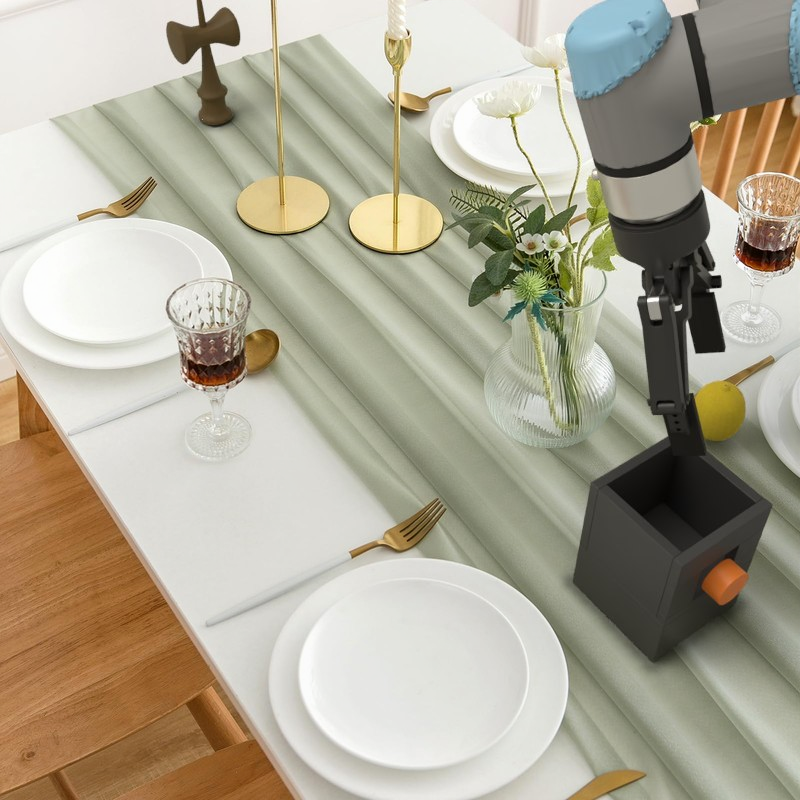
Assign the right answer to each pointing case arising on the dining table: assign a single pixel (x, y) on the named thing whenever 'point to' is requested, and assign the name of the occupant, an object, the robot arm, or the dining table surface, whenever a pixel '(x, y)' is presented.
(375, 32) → the dining table surface
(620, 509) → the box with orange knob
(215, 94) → the kendama
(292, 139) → the dining table surface
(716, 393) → the lemon
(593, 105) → the robot arm
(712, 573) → the power button
